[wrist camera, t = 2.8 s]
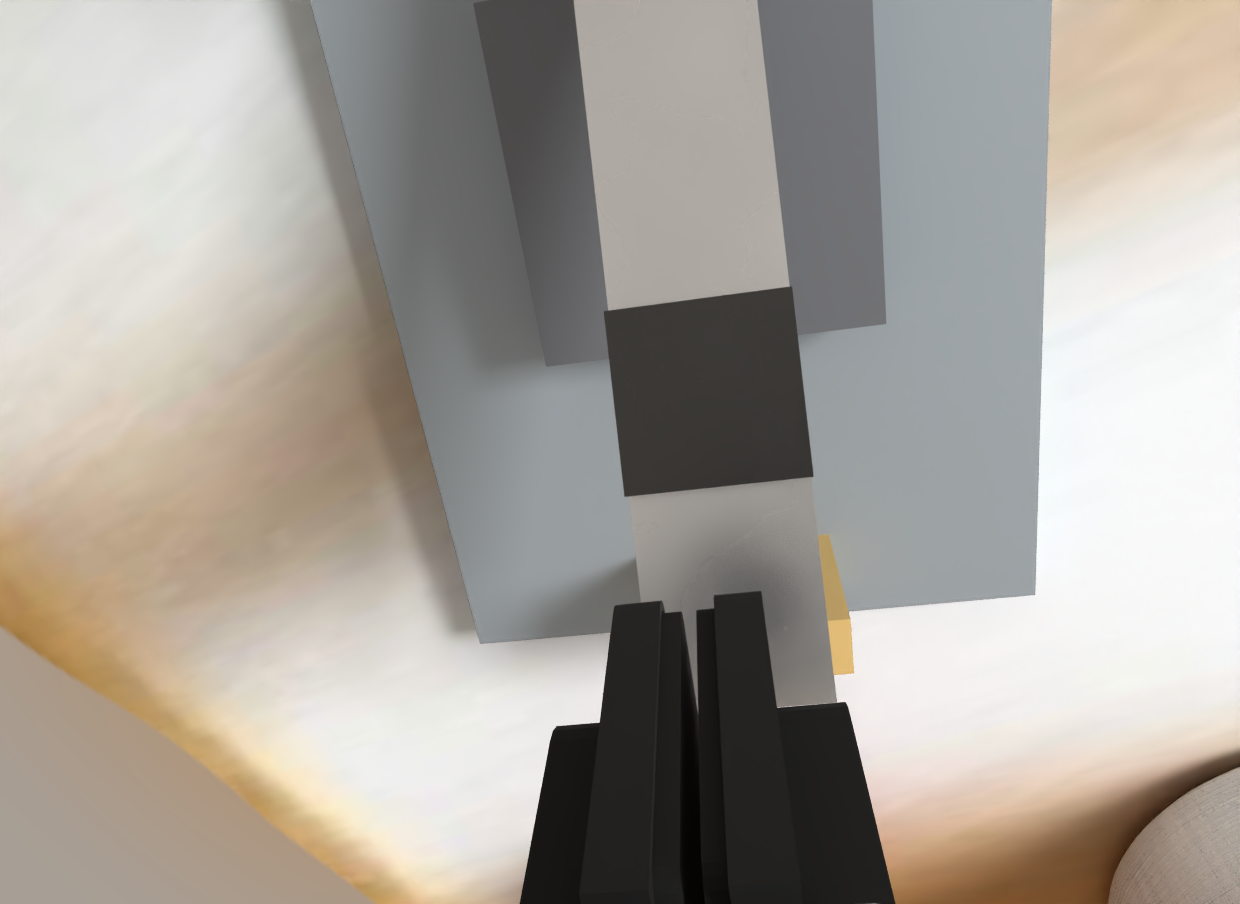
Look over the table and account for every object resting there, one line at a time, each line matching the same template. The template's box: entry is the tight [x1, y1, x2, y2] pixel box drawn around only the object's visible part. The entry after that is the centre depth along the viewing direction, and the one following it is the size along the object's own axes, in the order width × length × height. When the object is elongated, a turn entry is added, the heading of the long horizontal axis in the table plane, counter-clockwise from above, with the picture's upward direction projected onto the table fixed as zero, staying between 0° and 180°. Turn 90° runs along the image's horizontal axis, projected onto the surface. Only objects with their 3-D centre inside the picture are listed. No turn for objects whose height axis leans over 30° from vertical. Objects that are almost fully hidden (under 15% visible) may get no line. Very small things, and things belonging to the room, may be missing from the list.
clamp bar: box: [574, 0, 837, 709], centre depth 16 cm, size 19×4×2 cm, turn 9°
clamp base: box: [310, 0, 1052, 675], centre depth 21 cm, size 25×16×6 cm, turn 9°
